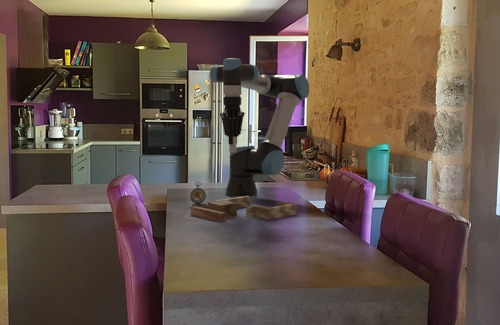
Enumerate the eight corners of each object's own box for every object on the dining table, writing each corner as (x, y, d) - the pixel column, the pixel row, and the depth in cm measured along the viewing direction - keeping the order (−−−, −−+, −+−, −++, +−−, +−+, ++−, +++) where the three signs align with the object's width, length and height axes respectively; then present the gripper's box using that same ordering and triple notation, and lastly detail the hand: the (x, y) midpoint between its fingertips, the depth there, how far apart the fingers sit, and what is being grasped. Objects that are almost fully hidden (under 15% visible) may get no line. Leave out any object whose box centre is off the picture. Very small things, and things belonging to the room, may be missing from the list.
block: (224, 212, 213) (224, 200, 213) (236, 216, 207) (237, 203, 206) (207, 215, 208) (207, 202, 207) (220, 218, 202) (220, 205, 201)
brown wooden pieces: (248, 204, 230) (248, 195, 230) (296, 214, 211) (296, 204, 211) (189, 214, 208) (189, 203, 208) (237, 225, 189) (237, 214, 188)
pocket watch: (200, 209, 218) (200, 184, 217) (185, 206, 223) (185, 182, 222) (213, 206, 225) (213, 182, 224) (198, 204, 230) (198, 181, 229)
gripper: (236, 95, 234) (236, 150, 237) (214, 96, 224) (215, 152, 227) (249, 95, 229) (249, 151, 232) (227, 96, 219) (228, 153, 222)
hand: (232, 151), depth 229 cm, fingers closed
